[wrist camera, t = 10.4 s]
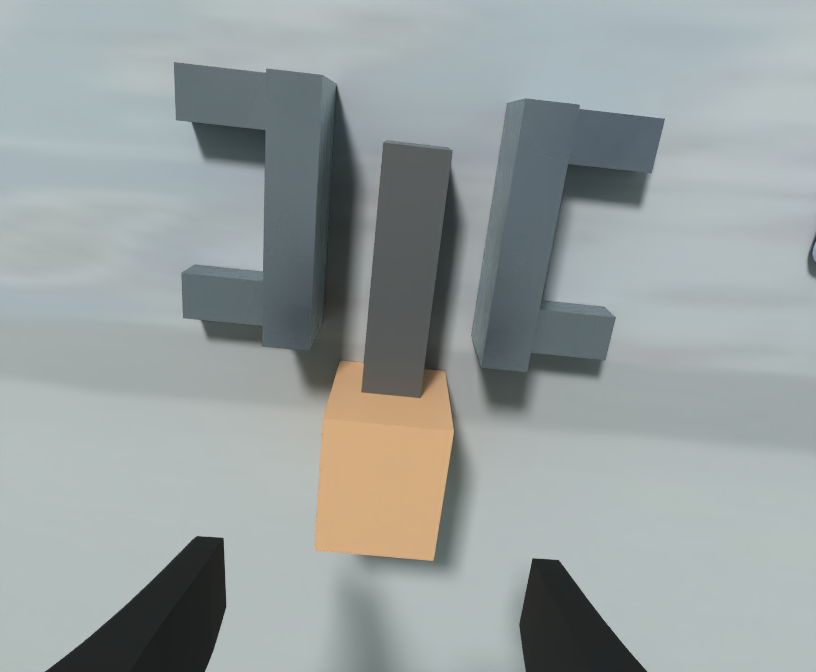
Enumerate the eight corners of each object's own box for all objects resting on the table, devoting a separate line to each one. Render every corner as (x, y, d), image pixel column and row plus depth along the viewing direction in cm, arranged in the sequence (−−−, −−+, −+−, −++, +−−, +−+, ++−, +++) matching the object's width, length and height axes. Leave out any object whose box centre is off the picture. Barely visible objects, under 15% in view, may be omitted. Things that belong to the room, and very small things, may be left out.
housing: (649, 119, 18) (692, 117, 15) (594, 347, 21) (623, 381, 18) (189, 66, 18) (147, 54, 15) (195, 307, 20) (161, 336, 18)
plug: (476, 150, 19) (496, 158, 14) (429, 481, 23) (433, 560, 19) (356, 136, 18) (340, 140, 14) (331, 472, 23) (314, 550, 19)
